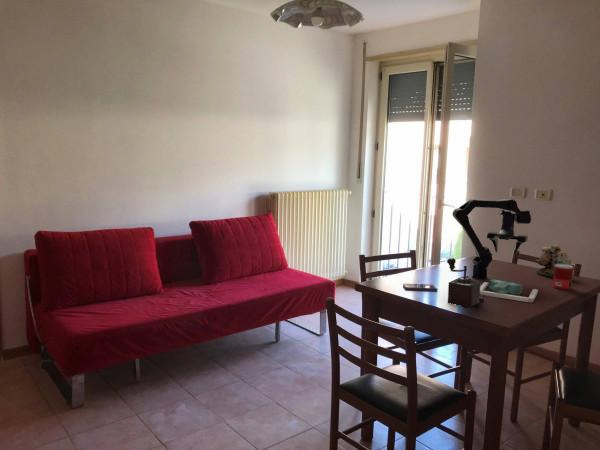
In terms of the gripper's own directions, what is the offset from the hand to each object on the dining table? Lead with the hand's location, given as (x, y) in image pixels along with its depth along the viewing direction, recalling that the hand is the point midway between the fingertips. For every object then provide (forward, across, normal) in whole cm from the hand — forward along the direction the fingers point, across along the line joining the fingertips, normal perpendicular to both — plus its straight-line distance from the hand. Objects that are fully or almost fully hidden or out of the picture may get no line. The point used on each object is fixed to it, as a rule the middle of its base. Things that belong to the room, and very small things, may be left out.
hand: (505, 253), depth 257 cm
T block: (+13, +6, -29) cm, 32 cm away
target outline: (+13, +8, -28) cm, 31 cm away
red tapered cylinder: (+13, +27, -2) cm, 30 cm away
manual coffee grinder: (+13, -6, -54) cm, 56 cm away
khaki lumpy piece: (+13, +20, +20) cm, 31 cm away
